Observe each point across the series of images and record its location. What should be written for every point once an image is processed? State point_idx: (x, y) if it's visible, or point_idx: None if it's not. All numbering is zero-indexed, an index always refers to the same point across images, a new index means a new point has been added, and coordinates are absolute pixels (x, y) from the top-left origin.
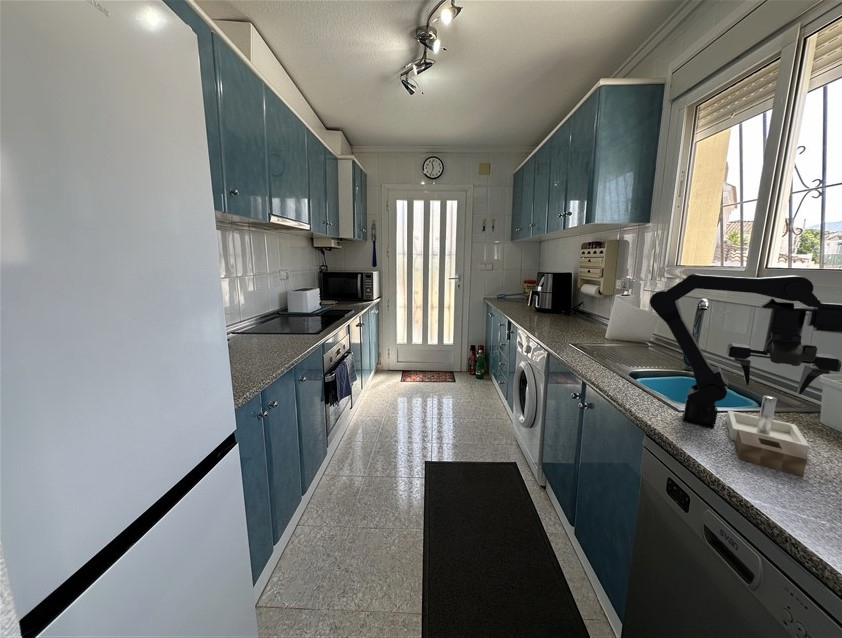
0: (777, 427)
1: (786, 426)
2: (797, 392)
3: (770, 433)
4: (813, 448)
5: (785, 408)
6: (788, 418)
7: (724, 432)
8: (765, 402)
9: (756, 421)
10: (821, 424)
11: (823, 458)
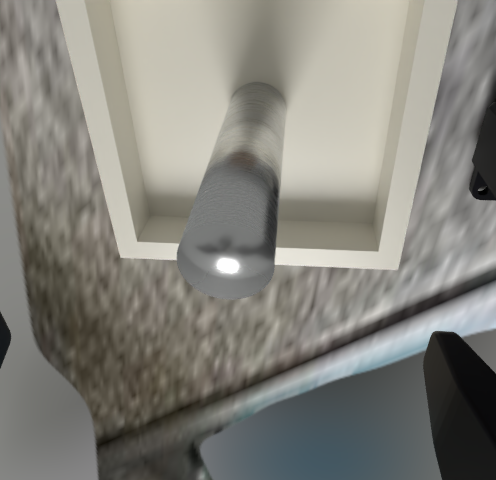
0: None
1: (153, 234)
2: (8, 340)
3: None
4: (67, 127)
5: (158, 444)
6: (152, 378)
7: None
8: (260, 207)
9: None
10: (68, 377)
11: (22, 15)
